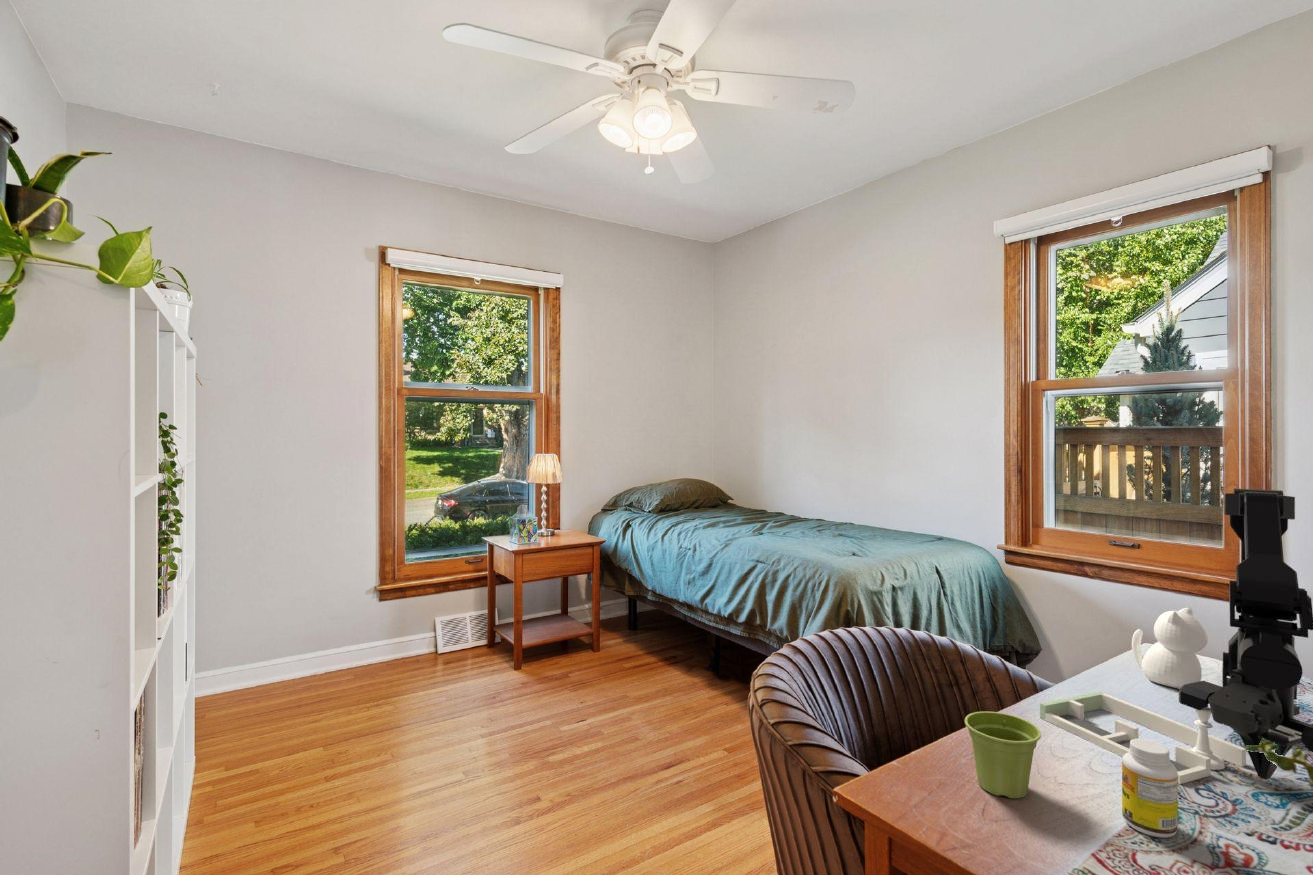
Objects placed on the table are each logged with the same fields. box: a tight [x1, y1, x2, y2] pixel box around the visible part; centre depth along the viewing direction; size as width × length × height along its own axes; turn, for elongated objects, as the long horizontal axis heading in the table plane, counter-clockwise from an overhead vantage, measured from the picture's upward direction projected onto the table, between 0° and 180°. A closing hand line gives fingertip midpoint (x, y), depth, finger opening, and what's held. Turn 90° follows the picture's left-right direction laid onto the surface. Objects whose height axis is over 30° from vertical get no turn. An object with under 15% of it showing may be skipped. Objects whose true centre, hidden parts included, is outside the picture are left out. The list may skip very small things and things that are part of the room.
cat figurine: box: [1131, 607, 1209, 690], centre depth 126 cm, size 9×12×15 cm
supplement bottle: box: [1121, 738, 1179, 838], centre depth 81 cm, size 6×6×10 cm
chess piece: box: [1189, 706, 1226, 771], centre depth 97 cm, size 5×5×10 cm
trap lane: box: [1039, 691, 1247, 785], centre depth 103 cm, size 14×22×2 cm, turn 19°
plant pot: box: [964, 711, 1042, 799], centre depth 90 cm, size 9×9×9 cm
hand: (1264, 777), depth 90 cm, fingers closed
